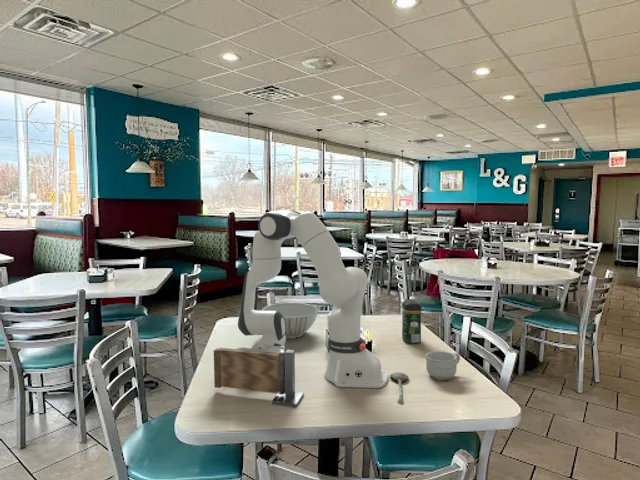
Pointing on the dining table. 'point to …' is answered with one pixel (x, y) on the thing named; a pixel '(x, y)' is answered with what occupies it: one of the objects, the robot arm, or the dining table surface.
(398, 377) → the soupspoon
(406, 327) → the coffee jar
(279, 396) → the gate post
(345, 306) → the robot arm
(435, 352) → the teacup
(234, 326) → the dining table surface
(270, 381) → the gate
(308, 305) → the decorative bowl
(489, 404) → the dining table surface
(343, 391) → the dining table surface
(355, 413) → the dining table surface
